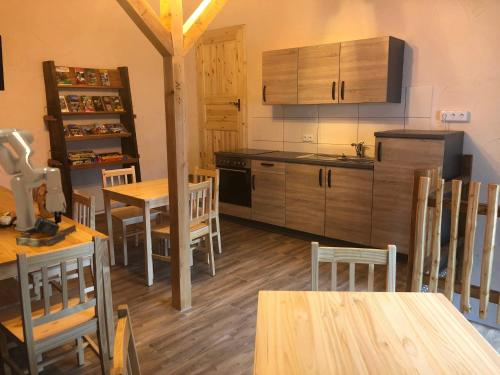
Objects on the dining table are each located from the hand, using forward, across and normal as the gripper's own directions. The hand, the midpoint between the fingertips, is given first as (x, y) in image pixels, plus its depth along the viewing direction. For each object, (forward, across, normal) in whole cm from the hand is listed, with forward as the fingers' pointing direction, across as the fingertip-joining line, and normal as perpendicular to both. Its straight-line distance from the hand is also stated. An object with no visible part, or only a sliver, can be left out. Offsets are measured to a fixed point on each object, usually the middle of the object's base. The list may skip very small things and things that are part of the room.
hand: (58, 222), depth 236 cm
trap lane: (+6, 0, -8) cm, 10 cm away
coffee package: (+6, -32, +27) cm, 43 cm away
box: (+3, 0, -2) cm, 4 cm away
